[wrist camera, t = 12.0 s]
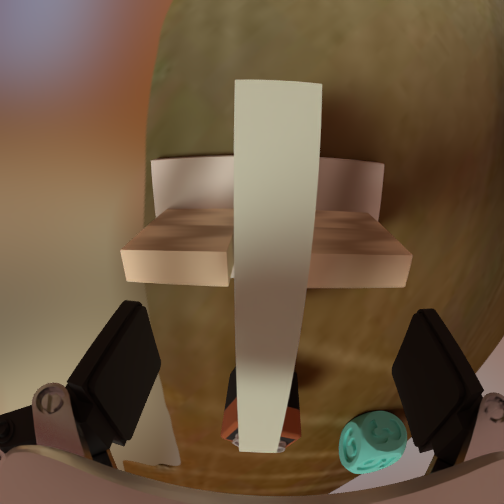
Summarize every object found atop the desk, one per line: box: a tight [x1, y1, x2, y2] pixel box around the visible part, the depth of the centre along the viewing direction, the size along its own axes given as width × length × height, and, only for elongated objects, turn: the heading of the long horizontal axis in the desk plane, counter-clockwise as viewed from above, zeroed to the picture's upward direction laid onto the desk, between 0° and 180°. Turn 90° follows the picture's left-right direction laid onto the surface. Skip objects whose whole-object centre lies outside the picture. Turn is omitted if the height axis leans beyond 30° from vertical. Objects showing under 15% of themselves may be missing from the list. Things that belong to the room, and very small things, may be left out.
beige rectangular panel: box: [234, 80, 322, 453], centre depth 15 cm, size 2×16×14 cm, turn 179°
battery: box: [221, 367, 301, 453], centre depth 26 cm, size 4×7×10 cm, turn 64°
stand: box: [120, 155, 413, 288], centre depth 18 cm, size 18×10×9 cm, turn 90°
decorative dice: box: [339, 411, 407, 474], centre depth 32 cm, size 8×8×8 cm
